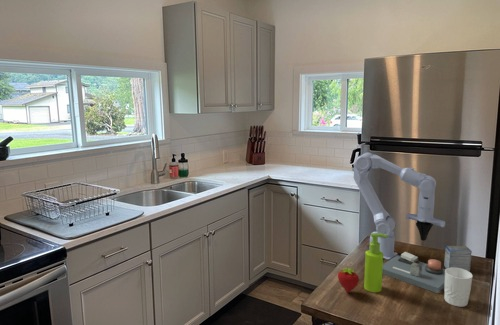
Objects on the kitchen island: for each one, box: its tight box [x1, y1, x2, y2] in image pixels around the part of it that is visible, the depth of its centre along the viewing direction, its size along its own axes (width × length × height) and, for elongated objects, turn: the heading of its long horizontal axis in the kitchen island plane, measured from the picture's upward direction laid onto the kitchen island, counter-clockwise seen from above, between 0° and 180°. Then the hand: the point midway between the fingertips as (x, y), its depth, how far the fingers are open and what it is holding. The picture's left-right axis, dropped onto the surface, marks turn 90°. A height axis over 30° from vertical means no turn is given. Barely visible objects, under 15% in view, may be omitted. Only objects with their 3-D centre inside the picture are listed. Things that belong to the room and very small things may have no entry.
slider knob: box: [410, 263, 422, 277], centre depth 138 cm, size 3×3×4 cm
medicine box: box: [443, 245, 472, 272], centre depth 146 cm, size 8×4×9 cm, turn 84°
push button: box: [427, 258, 442, 270], centre depth 141 cm, size 4×4×2 cm
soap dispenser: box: [363, 232, 388, 293], centre depth 131 cm, size 6×7×20 cm
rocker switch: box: [400, 251, 419, 263], centre depth 148 cm, size 5×4×1 cm
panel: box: [382, 254, 446, 294], centre depth 142 cm, size 22×16×3 cm
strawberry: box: [337, 267, 360, 293], centre depth 130 cm, size 6×8×10 cm
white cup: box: [443, 268, 474, 308], centre depth 123 cm, size 8×8×10 cm
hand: (423, 239), depth 152 cm, fingers closed
